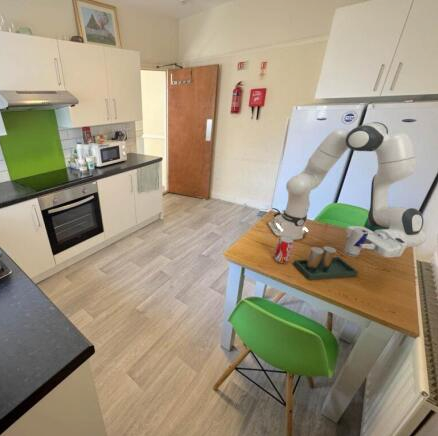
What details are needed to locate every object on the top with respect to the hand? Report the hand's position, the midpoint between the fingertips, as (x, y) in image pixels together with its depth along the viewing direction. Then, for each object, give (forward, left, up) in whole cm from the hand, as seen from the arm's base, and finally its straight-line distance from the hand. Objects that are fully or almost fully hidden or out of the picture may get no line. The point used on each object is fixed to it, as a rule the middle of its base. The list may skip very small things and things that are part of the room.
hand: (354, 241), depth 104 cm
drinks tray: (-5, -4, -20) cm, 21 cm away
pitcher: (-23, +36, -20) cm, 47 cm away
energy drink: (0, +1, -7) cm, 7 cm away
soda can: (-15, -20, -20) cm, 32 cm away
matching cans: (-5, -8, -19) cm, 21 cm away
